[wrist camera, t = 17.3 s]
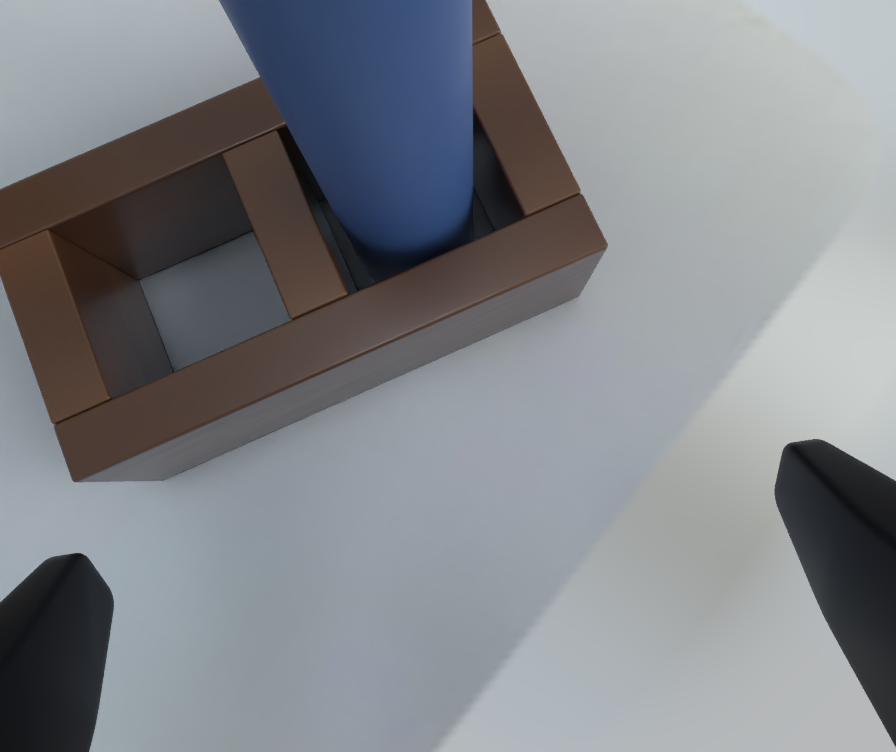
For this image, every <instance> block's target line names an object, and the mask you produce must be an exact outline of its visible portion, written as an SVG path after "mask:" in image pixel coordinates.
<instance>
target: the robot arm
mask: <svg viewBox="0 0 896 752" xmlns="http://www.w3.org/2000/svg"><path fill="white" fill-rule="evenodd" d="M775 500H776V504H777V507H778V509H779V512H780V514H781V516H782V519H783V521H784V524H785V526H786V528H787V530H788V533H789V536H790V538H791V540H792V543H793V545H794V547H795V550H796V552H797V555H798V557H799V560H800V562H801V564H802V567H803V569H804V572H805V574H806V576H807V579H808V581H809V583H810V586H811V588H812V591H813V593H814V595H815V598H816V600H817V602H818V604H819V607H820V609H821V611H822V613H823V615H824V617H825V619H826V621H827V623H828V625H829V627H830V629H831V630H832V633H833V634H834V636H835V638H836V640H837V642H838V643H839V645H840V647H841V649H842V651H843V653H844V654H845V656H846V658H847V660H848V661H849V663H850V665H851V667H852V669H853V671H854V672H855V674H856V676H857V678H858V680H859V681H860V683H861V685H862V687H863V689H864V690H865V692H866V694H867V696H868V698H869V699H870V701H871V703H872V705H873V707H874V709H875V710H876V712H877V714H878V716H879V718H880V719H881V721H882V723H883V725H884V726H885V728H886V730H887V732H888V734H889V736H890V737H891V739H892V741H893V743H894V745H895V746H896V481H895V480H893V479H891V478H890V477H888V476H886V475H884V474H882V473H881V472H879V471H877V470H875V469H874V468H872V467H870V466H868V465H867V464H865V463H863V462H861V461H859V460H858V459H856V458H854V457H852V456H850V455H849V454H847V453H845V452H843V451H842V450H840V449H838V448H836V447H835V446H833V445H831V444H829V443H827V442H825V441H823V440H819V439H813V440H806V441H800V442H793V443H789V444H787V445H786V446H785V448H784V449H783V452H782V456H781V461H780V465H779V470H778V475H777V480H776V484H775ZM113 609H114V600H113V595H112V592H111V590H110V588H109V587H108V585H107V584H106V582H105V581H104V580H103V578H102V577H101V575H100V574H99V572H98V571H97V570H96V568H95V567H94V565H93V564H92V562H91V561H90V560H89V558H88V557H87V556H85V555H83V554H81V553H74V554H68V555H61V556H55V557H51V558H49V559H47V560H45V561H44V562H43V563H42V564H41V565H39V566H38V567H37V568H36V569H35V570H34V571H33V572H32V573H31V574H30V575H29V576H28V577H27V578H26V579H25V580H24V581H23V582H21V583H20V584H19V585H18V586H17V587H16V588H15V589H14V590H13V591H12V592H11V593H10V594H9V595H8V596H7V597H6V598H4V599H3V600H2V601H1V602H0V752H89V750H90V746H91V742H92V738H93V734H94V729H95V725H96V720H97V714H98V709H99V703H100V697H101V690H102V683H103V677H104V670H105V663H106V657H107V650H108V643H109V637H110V630H111V623H112V617H113Z"/></svg>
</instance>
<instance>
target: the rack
mask: <svg viewBox="0 0 896 752" xmlns="http://www.w3.org/2000/svg"><path fill="white" fill-rule="evenodd" d="M472 58H473V185H474V188H475V190H476V192H477V194H478V196H479V198H480V200H481V202H482V204H483V206H484V209H485V211H486V213H487V215H488V217H489V219H490V221H491V223H492V225H493V228H494V230H495V231H494V232H491V233H489V234H487V235H485V236H482V237H480V238H478V239H476V240H473V241H471V242H469V243H466V244H464V245H462V246H460V247H457V248H455V249H453V250H451V251H448V252H446V253H444V254H441V255H439V256H437V257H435V258H432V259H430V260H428V261H425V262H423V263H421V264H419V265H416V266H414V267H412V268H410V269H407V270H405V271H403V272H400V273H398V274H396V275H394V276H391V277H389V278H387V279H385V280H382V281H380V282H378V283H375V284H373V285H371V286H369V287H366V288H364V289H362V290H360V291H357V289H356V287H355V284H354V282H353V280H352V277H351V275H350V273H349V270H348V268H347V266H346V264H345V261H344V259H343V257H342V254H341V252H340V250H339V247H338V245H337V243H336V241H335V238H334V236H333V234H332V231H331V229H330V227H329V224H328V222H327V220H326V218H325V215H324V213H323V211H322V208H321V206H320V204H319V202H318V201H320V200H322V199H325V198H326V197H325V195H324V193H323V191H322V190H321V188H320V186H319V184H318V182H317V180H316V178H315V177H314V175H313V173H312V171H311V169H310V167H309V166H308V164H307V162H306V160H305V158H304V156H303V154H302V153H301V151H300V149H299V147H298V145H297V143H296V142H295V140H294V138H293V136H292V134H291V132H290V130H289V129H288V127H287V125H286V123H285V121H284V119H283V118H282V116H281V114H280V112H279V110H278V108H277V106H276V105H275V103H274V101H273V99H272V97H271V95H270V94H269V92H268V90H267V88H266V86H265V84H264V82H263V81H262V79H261V77H260V78H257V79H255V80H253V81H250V82H248V83H246V84H243V85H241V86H239V87H236V88H234V89H232V90H229V91H227V92H225V93H222V94H220V95H218V96H215V97H213V98H211V99H208V100H206V101H204V102H201V103H199V104H197V105H195V106H192V107H190V108H188V109H185V110H183V111H181V112H178V113H176V114H174V115H171V116H169V117H167V118H164V119H162V120H160V121H157V122H155V123H153V124H150V125H148V126H146V127H143V128H141V129H139V130H137V131H134V132H132V133H130V134H127V135H125V136H123V137H120V138H118V139H116V140H113V141H111V142H109V143H106V144H104V145H102V146H99V147H97V148H95V149H92V150H90V151H88V152H85V153H83V154H81V155H78V156H76V157H74V158H72V159H69V160H67V161H65V162H62V163H60V164H58V165H55V166H53V167H51V168H48V169H46V170H44V171H41V172H39V173H37V174H34V175H32V176H30V177H27V178H25V179H23V180H20V181H18V182H16V183H13V184H11V185H9V186H7V187H4V188H2V189H0V277H1V279H2V282H3V285H4V288H5V291H6V294H7V297H8V299H9V302H10V305H11V308H12V311H13V314H14V317H15V319H16V322H17V325H18V328H19V331H20V334H21V337H22V339H23V342H24V345H25V348H26V351H27V354H28V357H29V359H30V362H31V365H32V368H33V371H34V374H35V377H36V379H37V382H38V385H39V388H40V391H41V394H42V396H43V399H44V402H45V405H46V408H47V411H48V414H49V416H50V419H51V422H52V423H53V424H55V425H54V429H55V432H56V435H57V438H58V441H59V444H60V446H61V449H62V452H63V455H64V458H65V461H66V464H67V466H68V469H69V472H70V475H71V478H72V480H73V481H74V482H110V481H156V480H165V479H168V478H170V477H172V476H174V475H177V474H179V473H181V472H183V471H186V470H188V469H190V468H192V467H195V466H197V465H199V464H201V463H204V462H206V461H208V460H211V459H213V458H215V457H217V456H220V455H222V454H224V453H226V452H229V451H231V450H233V449H235V448H238V447H240V446H242V445H244V444H247V443H249V442H251V441H253V440H256V439H258V438H260V437H262V436H265V435H267V434H269V433H271V432H274V431H276V430H278V429H280V428H283V427H285V426H287V425H290V424H292V423H294V422H296V421H299V420H301V419H303V418H305V417H308V416H310V415H312V414H314V413H317V412H319V411H321V410H323V409H326V408H328V407H330V406H332V405H335V404H337V403H339V402H341V401H344V400H346V399H348V398H350V397H353V396H355V395H357V394H359V393H362V392H364V391H366V390H369V389H371V388H373V387H375V386H378V385H380V384H382V383H384V382H387V381H389V380H391V379H393V378H396V377H398V376H400V375H402V374H405V373H407V372H409V371H411V370H414V369H416V368H418V367H420V366H423V365H425V364H427V363H429V362H432V361H434V360H436V359H438V358H441V357H443V356H445V355H448V354H450V353H452V352H454V351H457V350H459V349H461V348H463V347H466V346H468V345H470V344H472V343H475V342H477V341H479V340H481V339H484V338H486V337H488V336H490V335H493V334H495V333H497V332H499V331H502V330H504V329H506V328H508V327H511V326H513V325H515V324H517V323H520V322H522V321H524V320H527V319H529V318H531V317H533V316H536V315H538V314H540V313H542V312H545V311H547V310H549V309H551V308H554V307H556V306H558V305H560V304H563V303H565V302H567V301H569V300H572V299H574V298H576V297H578V296H579V295H580V293H581V292H582V290H583V288H584V286H585V285H586V283H587V281H588V280H589V278H590V276H591V274H592V273H593V271H594V269H595V268H596V266H597V264H598V263H599V261H600V259H601V257H602V256H603V254H604V252H605V251H606V249H607V247H608V244H607V242H606V240H605V238H604V236H603V234H602V232H601V230H600V228H599V226H598V224H597V222H596V220H595V218H594V216H593V214H592V212H591V210H590V208H589V206H588V204H587V202H586V200H585V198H584V196H583V195H582V194H580V192H581V191H580V188H579V186H578V184H577V182H576V180H575V178H574V176H573V174H572V172H571V170H570V168H569V166H568V164H567V162H566V160H565V158H564V156H563V154H562V152H561V150H560V148H559V146H558V144H557V142H556V140H555V138H554V136H553V134H552V132H551V130H550V128H549V126H548V124H547V122H546V120H545V118H544V116H543V114H542V112H541V110H540V108H539V106H538V104H537V102H536V100H535V98H534V96H533V94H532V92H531V90H530V88H529V86H528V84H527V82H526V80H525V78H524V76H523V74H522V72H521V70H520V68H519V66H518V64H517V62H516V60H515V58H514V56H513V54H512V52H511V50H510V48H509V46H508V44H507V42H506V40H505V38H504V36H503V35H502V34H501V30H500V28H499V26H498V24H497V22H496V20H495V18H494V16H493V14H492V12H491V10H490V8H489V6H488V4H487V2H486V0H472ZM251 230H253V231H254V233H255V236H256V238H257V240H258V243H259V245H260V248H261V250H262V252H263V255H264V257H265V260H266V262H267V264H268V267H269V269H270V272H271V274H272V276H273V279H274V281H275V284H276V286H277V288H278V291H279V293H280V296H281V298H282V300H283V303H284V305H285V308H286V310H287V312H288V315H289V317H290V319H291V321H289V322H287V323H284V324H282V325H280V326H278V327H275V328H273V329H271V330H268V331H266V332H264V333H262V334H259V335H257V336H255V337H253V338H250V339H248V340H246V341H243V342H241V343H239V344H237V345H234V346H232V347H230V348H228V349H225V350H223V351H221V352H218V353H216V354H214V355H212V356H209V357H207V358H205V359H203V360H200V361H198V362H196V363H193V364H191V365H189V366H187V367H184V368H182V369H180V370H177V371H175V372H173V370H172V367H171V365H170V362H169V359H168V357H167V354H166V352H165V349H164V346H163V344H162V341H161V338H160V336H159V333H158V331H157V328H156V325H155V323H154V320H153V318H152V315H151V312H150V310H149V307H148V305H147V302H146V299H145V297H144V294H143V291H142V289H141V286H140V284H139V282H138V281H137V280H139V279H141V278H143V277H146V276H148V275H150V274H153V273H155V272H157V271H159V270H162V269H164V268H166V267H169V266H171V265H173V264H176V263H178V262H180V261H182V260H185V259H187V258H189V257H192V256H194V255H196V254H198V253H201V252H203V251H205V250H208V249H210V248H212V247H215V246H217V245H219V244H221V243H224V242H226V241H228V240H231V239H233V238H235V237H237V236H240V235H242V234H244V233H247V232H249V231H251Z"/></svg>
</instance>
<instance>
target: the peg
mask: <svg viewBox="0 0 896 752" xmlns="http://www.w3.org/2000/svg"><path fill="white" fill-rule="evenodd" d="M219 1H220V3H221V5H222V7H223V9H224V10H225V12H226V14H227V16H228V18H229V20H230V22H231V23H232V25H233V27H234V29H235V31H236V33H237V34H238V36H239V38H240V40H241V42H242V44H243V46H244V47H245V49H246V51H247V53H248V55H249V57H250V58H251V60H252V62H253V64H254V66H255V68H256V70H257V71H258V73H259V75H260V77H261V79H262V81H263V82H264V84H265V86H266V88H267V90H268V92H269V94H270V95H271V97H272V99H273V101H274V103H275V105H276V106H277V108H278V110H279V112H280V114H281V116H282V118H283V119H284V121H285V123H286V125H287V127H288V129H289V130H290V132H291V134H292V136H293V138H294V140H295V142H296V143H297V145H298V147H299V149H300V151H301V153H302V154H303V156H304V158H305V160H306V162H307V164H308V166H309V167H310V169H311V171H312V173H313V175H314V177H315V178H316V180H317V182H318V184H319V186H320V188H321V190H322V191H323V193H324V195H325V197H326V199H327V201H328V202H329V204H330V206H331V208H332V210H333V212H334V214H335V215H336V217H337V219H338V221H339V223H340V225H341V226H342V228H343V230H344V232H345V234H346V236H347V238H348V239H349V241H350V243H351V245H352V247H353V249H354V250H355V252H356V254H357V256H358V258H359V260H360V262H361V263H362V265H363V266H364V268H365V269H366V271H367V272H368V273H369V274H370V275H371V276H372V277H373V278H374V279H375V280H376V281H378V282H380V281H382V280H385V279H387V278H389V277H391V276H394V275H396V274H398V273H400V272H403V271H405V270H407V269H410V268H412V267H414V266H416V265H419V264H421V263H423V262H425V261H428V260H430V259H432V258H435V257H437V256H439V255H441V254H444V253H446V252H448V251H451V250H453V249H455V248H457V247H460V246H462V245H464V244H466V243H469V242H471V241H473V238H474V206H473V58H472V0H219Z"/></svg>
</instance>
